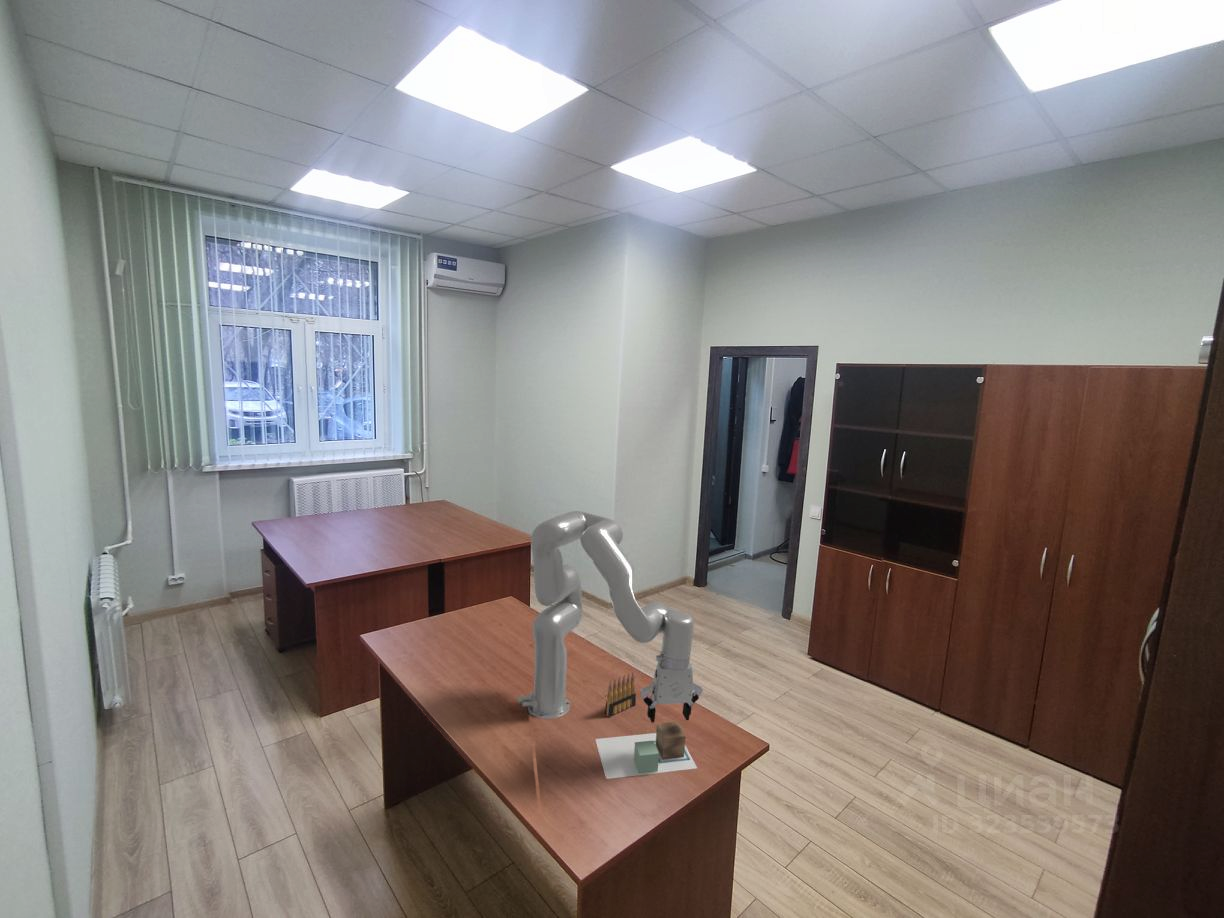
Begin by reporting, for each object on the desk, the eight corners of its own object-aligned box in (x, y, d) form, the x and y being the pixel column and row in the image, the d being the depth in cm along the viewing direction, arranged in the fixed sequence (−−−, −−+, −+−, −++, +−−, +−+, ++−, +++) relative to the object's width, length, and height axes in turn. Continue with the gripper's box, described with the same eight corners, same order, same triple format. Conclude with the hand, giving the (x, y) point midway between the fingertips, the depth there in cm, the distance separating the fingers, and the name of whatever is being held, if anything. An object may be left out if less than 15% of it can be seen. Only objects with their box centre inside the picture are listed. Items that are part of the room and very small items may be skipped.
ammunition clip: (608, 720, 155) (610, 682, 154) (604, 717, 157) (606, 680, 155) (635, 708, 162) (637, 671, 160) (631, 705, 163) (633, 669, 162)
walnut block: (662, 759, 139) (663, 738, 138) (655, 744, 144) (656, 724, 144) (683, 756, 140) (685, 736, 139) (676, 741, 146) (677, 721, 145)
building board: (606, 782, 131) (606, 778, 131) (595, 742, 146) (595, 738, 145) (697, 771, 136) (697, 767, 136) (677, 734, 151) (677, 730, 151)
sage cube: (638, 773, 133) (639, 755, 133) (633, 759, 138) (634, 742, 137) (657, 771, 134) (658, 753, 134) (652, 757, 139) (653, 740, 138)
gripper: (647, 668, 133) (641, 729, 136) (711, 665, 137) (704, 725, 140) (639, 652, 140) (633, 711, 143) (700, 650, 144) (693, 707, 147)
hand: (668, 718), depth 141 cm, fingers open, 9 cm apart
